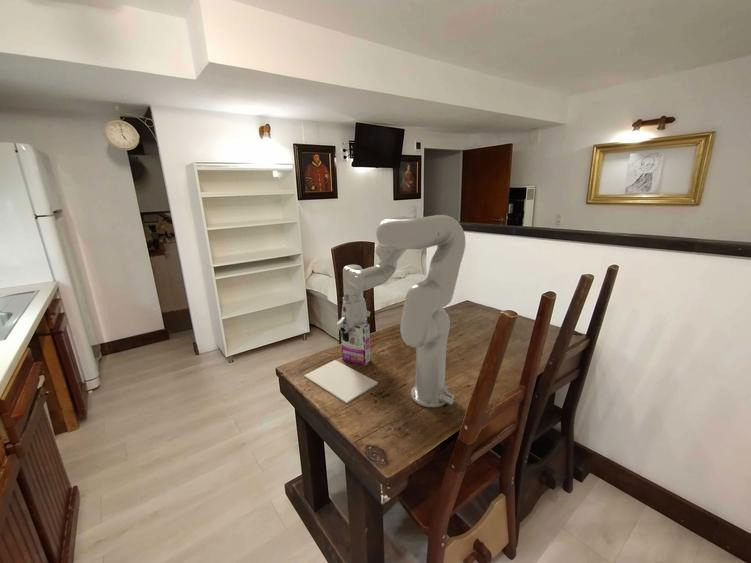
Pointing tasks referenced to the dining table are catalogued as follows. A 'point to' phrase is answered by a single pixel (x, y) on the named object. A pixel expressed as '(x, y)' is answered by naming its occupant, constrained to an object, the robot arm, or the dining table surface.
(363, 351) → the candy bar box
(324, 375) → the mat
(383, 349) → the dining table surface
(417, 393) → the robot arm
